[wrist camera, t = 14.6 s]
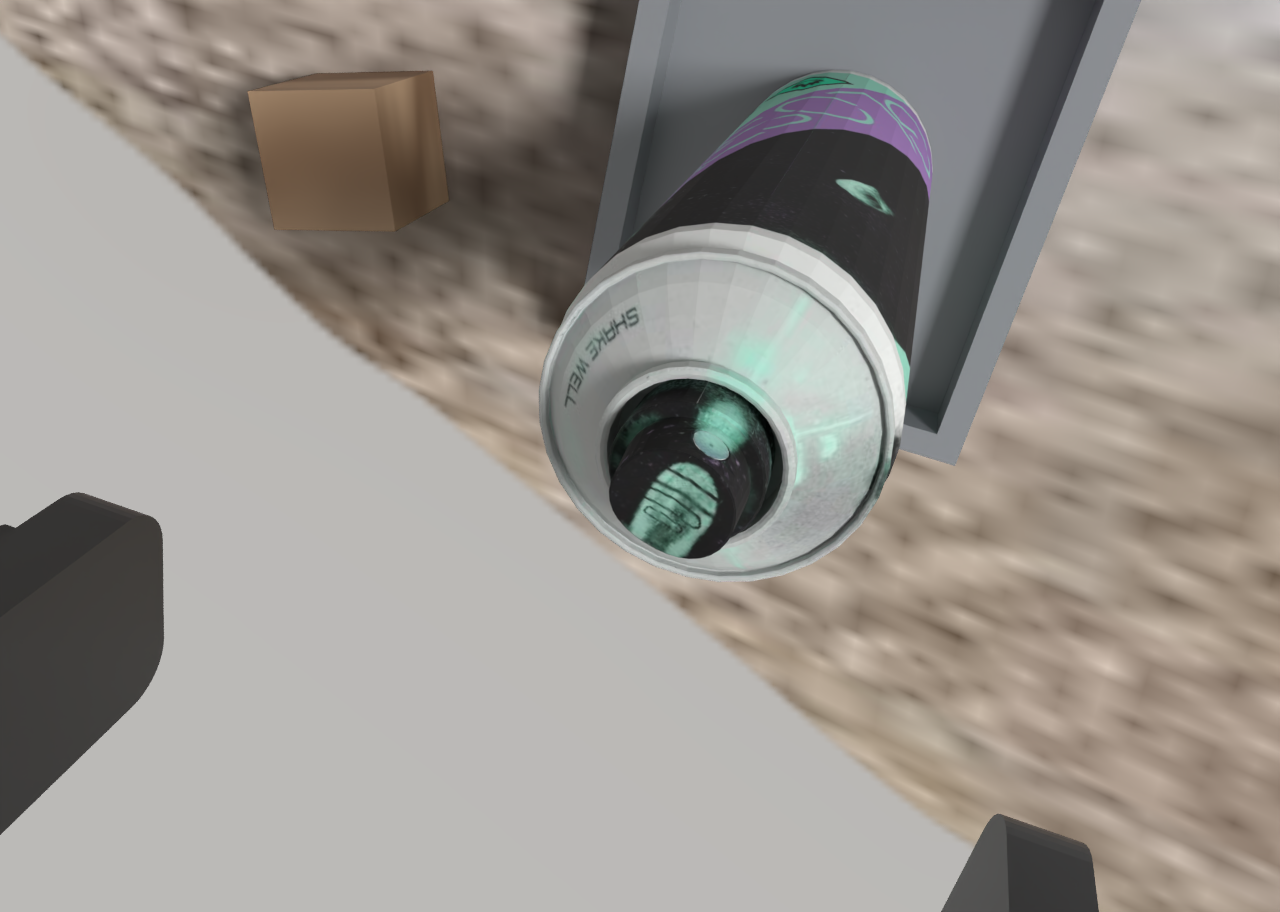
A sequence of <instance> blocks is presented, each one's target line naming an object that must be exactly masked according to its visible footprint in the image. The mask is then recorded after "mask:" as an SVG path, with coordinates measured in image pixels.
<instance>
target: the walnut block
mask: <svg viewBox="0 0 1280 912" xmlns="http://www.w3.org/2000/svg"><path fill="white" fill-rule="evenodd" d="M247 92H248V97H249V102H250V107H251V112H252V117H253V122H254V128H255V133H256V138H257V143H258V148H259V153H260V158H261V163H262V169H263V174H264V179H265V184H266V189H267V194H268V199H269V205H270V210H271V215H272V220H273V225H274V230H330V231H392V232H395V231H397V230H399V229H401V228H402V227H404V226H406V225H408V224H409V223H411V222H413V221H415V220H416V219H418V218H420V217H422V216H423V215H425V214H427V213H429V212H430V211H432V210H434V209H436V208H437V207H439V206H441V205H443V204H444V203H446V202H448V201H449V196H448V188H447V180H446V172H445V164H444V156H443V148H442V140H441V132H440V124H439V116H438V108H437V100H436V92H435V84H434V76H433V71H400V72H358V73H316V74H313V75H309V76H305V77H301V78H297V79H293V80H289V81H286V82H282V83H278V84H274V85H270V86H266V87H262V88H258V89H255V90H251V91H247Z"/></svg>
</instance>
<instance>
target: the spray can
mask: <svg viewBox="0 0 1280 912" xmlns="http://www.w3.org/2000/svg"><path fill="white" fill-rule="evenodd" d="M932 173H933V168H932V153H931V147H930V144H929V140H928V137H927V133H926V129H925V128H924V126H923V124H922V122H921V120H920V118H919V116H918V114H917V112H916V111H915V110H914V108H913V107H912V106H911V105H910V104H909V102H908V101H907V100H906V99H905V97H903V96H902V95H901V94H900V93H899V92H897V91H896V90H895V89H894V88H892V87H891V86H890V85H888V84H886V83H884V82H882V81H880V80H878V79H876V78H875V77H873V76H870V75H866V74H862V73H859V72H855V71H846V70H828V71H821V72H814V73H811V74H808V75H805V76H803V77H800V78H797V79H794V80H793V81H791V82H789V83H788V84H786V85H784V86H783V87H781V88H779V89H778V90H776V91H775V92H773V93H772V94H771V95H770V96H769V97H768V98H767V99H766V100H765V101H764V102H763V103H761V104H760V105H759V106H758V107H757V108H756V109H755V111H754V112H753V113H752V114H751V115H750V116H749V117H748V118H747V119H746V120H745V121H744V122H743V123H742V124H741V125H740V126H739V127H738V128H737V129H736V130H735V131H734V132H733V133H732V134H731V135H730V136H729V137H728V138H727V139H726V140H725V141H724V142H723V143H722V144H721V145H720V146H719V147H718V148H717V149H716V151H715V152H714V153H713V154H712V155H711V156H710V157H709V158H708V159H707V160H706V161H705V162H704V163H703V164H702V165H701V166H700V167H699V168H698V169H697V170H696V171H695V172H694V173H693V174H692V175H691V176H690V177H689V178H688V179H687V180H686V181H685V182H684V183H683V184H682V185H681V186H680V187H679V188H678V189H677V190H676V192H675V193H674V194H673V195H672V196H671V197H670V198H669V199H668V200H667V201H666V202H665V203H664V204H663V205H662V206H661V207H660V208H659V209H658V210H657V211H656V212H655V213H654V214H653V215H652V216H651V217H650V218H649V219H648V220H647V221H646V222H645V223H644V224H643V225H642V226H641V227H640V228H639V229H638V230H637V232H636V233H635V234H634V235H633V236H632V237H631V238H630V239H629V240H628V241H627V242H626V243H625V244H624V245H623V246H622V247H621V248H620V249H619V250H618V251H617V252H616V253H615V254H614V255H613V256H612V257H611V258H610V259H609V260H608V261H607V262H606V263H605V264H604V265H603V266H602V267H601V268H600V269H599V270H598V272H597V273H596V274H595V275H594V276H593V277H592V278H591V279H590V280H589V281H588V282H587V283H586V284H585V285H584V287H583V288H582V290H581V291H580V293H579V294H578V295H577V297H576V298H575V300H574V301H573V302H572V304H571V305H570V307H569V308H568V310H567V312H566V314H565V316H564V319H563V321H562V324H561V326H560V327H559V329H558V330H557V332H556V334H555V336H554V339H553V341H552V343H551V346H550V348H549V351H548V353H547V355H546V358H545V360H544V365H543V371H542V376H541V382H540V387H539V418H540V426H541V430H542V435H543V439H544V443H545V448H546V452H547V455H548V457H549V459H550V462H551V464H552V466H553V468H554V471H555V473H556V475H557V478H558V480H559V482H560V483H561V485H562V486H563V488H564V489H565V491H566V492H567V494H568V495H569V497H570V498H571V500H572V501H573V503H574V504H575V506H576V507H577V509H578V510H579V511H580V512H581V513H582V514H583V515H584V516H585V517H586V518H587V519H588V520H589V521H590V522H591V523H592V524H593V525H594V526H595V527H596V529H597V530H598V531H599V532H601V533H602V534H603V535H605V536H606V537H607V538H609V539H610V540H611V541H613V542H614V543H615V544H617V545H618V546H619V547H621V548H622V549H623V550H625V551H626V552H628V553H630V554H632V555H634V556H636V557H638V558H640V559H641V560H643V561H645V562H647V563H649V564H651V565H653V566H655V567H658V568H661V569H664V570H667V571H670V572H673V573H676V574H679V575H682V576H685V577H691V578H697V579H704V580H710V581H717V582H736V581H755V580H760V579H765V578H771V577H776V576H781V575H784V574H787V573H789V572H792V571H794V570H797V569H799V568H802V567H805V566H807V565H810V564H812V563H814V562H815V561H817V560H818V559H820V558H822V557H823V556H825V555H826V554H828V553H829V552H831V551H832V550H834V549H836V548H837V547H839V546H840V545H841V544H842V543H843V542H844V541H845V540H846V539H847V538H848V537H849V536H850V535H851V534H852V533H853V532H854V531H855V530H856V529H857V528H858V527H859V526H860V525H861V524H862V523H863V521H864V519H865V518H866V516H867V515H868V513H869V512H870V510H871V509H872V507H873V506H874V504H875V503H876V501H877V500H878V498H879V496H880V493H881V490H882V488H883V485H884V482H885V481H886V479H887V478H888V476H889V474H890V471H891V469H892V466H893V463H894V461H895V458H896V455H897V453H898V450H899V447H900V444H901V437H902V429H903V422H904V415H905V407H906V398H907V390H908V381H909V373H910V364H911V355H912V347H913V338H914V329H915V321H916V312H917V303H918V295H919V286H920V277H921V269H922V260H923V251H924V243H925V234H926V225H927V217H928V208H929V199H930V191H931V182H932Z"/></svg>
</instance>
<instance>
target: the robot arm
mask: <svg viewBox="0 0 1280 912" xmlns="http://www.w3.org/2000/svg"><path fill="white" fill-rule="evenodd" d="M163 642H164V615H163V539H162V532H161V528H160V525H159V523H158V522H157V521H156V520H155V519H154V518H153V517H151V516H148V515H145V514H142V513H139V512H137V511H134V510H131V509H128V508H125V507H122V506H119V505H116V504H113V503H111V502H107V501H105V500H102V499H99V498H96V497H93V496H90V495H87V494H85V493H79V492H78V493H71V494H69V495H66V496H64V497H62V498H60V499H59V500H57V501H56V502H54V503H53V504H51V505H50V506H48V507H47V508H45V509H44V510H42V511H41V512H39V513H38V514H36V515H35V516H33V517H31V518H30V519H28V520H27V521H25V522H24V523H22V524H21V525H19V526H18V527H16V528H14V527H11V526H8V525H1V526H0V835H1V834H2V833H3V832H4V831H5V830H6V829H7V828H8V827H9V826H10V825H11V824H12V823H13V822H14V821H15V820H16V819H17V818H18V817H19V816H20V815H21V814H22V813H23V812H24V811H25V810H26V809H27V808H28V807H29V806H30V805H31V804H32V803H33V802H35V801H36V800H37V799H38V798H39V797H40V796H41V795H42V794H43V793H44V792H45V791H46V790H47V789H48V788H49V787H50V786H51V785H52V784H53V783H54V782H55V781H56V780H57V779H58V778H59V777H60V776H61V775H62V774H63V773H64V772H65V771H66V770H67V769H69V768H70V766H72V765H73V764H74V763H75V762H76V761H77V760H78V759H79V758H80V757H81V756H82V755H83V754H84V753H85V752H86V751H87V750H88V749H89V748H90V747H91V746H92V745H93V744H94V743H95V742H96V741H97V740H98V739H99V738H100V737H102V736H103V734H104V733H106V732H107V731H108V730H109V729H110V728H111V727H112V726H113V725H114V724H115V723H116V722H117V721H118V720H119V719H120V718H121V717H122V716H123V715H124V714H125V713H126V712H127V711H128V710H129V709H130V708H131V707H132V706H133V705H134V704H135V703H136V702H137V701H138V700H139V699H140V697H141V696H142V695H143V693H144V692H145V690H146V689H147V687H148V686H149V684H150V682H151V680H152V678H153V676H154V674H155V672H156V670H157V667H158V665H159V662H160V658H161V655H162V650H163ZM941 912H1099V910H1098V902H1097V894H1096V885H1095V877H1094V869H1093V862H1092V856H1091V853H1090V850H1089V848H1088V847H1087V845H1085V844H1084V843H1082V842H1079V841H1076V840H1073V839H1071V838H1068V837H1065V836H1062V835H1059V834H1056V833H1053V832H1050V831H1047V830H1045V829H1042V828H1039V827H1036V826H1033V825H1030V824H1027V823H1024V822H1022V821H1019V820H1016V819H1013V818H1010V817H1007V816H1004V815H1001V814H996V815H994V816H993V817H992V818H991V819H990V821H989V822H988V823H987V825H986V827H985V828H984V830H983V832H982V834H981V836H980V838H979V840H978V842H977V844H976V846H975V848H974V849H973V851H972V853H971V855H970V857H969V859H968V861H967V863H966V865H965V867H964V869H963V871H962V873H961V875H960V877H959V878H958V881H957V882H956V884H955V886H954V888H953V890H952V892H951V894H950V896H949V898H948V900H947V902H946V904H945V905H944V908H943V910H942V911H941Z"/></svg>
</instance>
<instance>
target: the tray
mask: <svg viewBox="0 0 1280 912" xmlns="http://www.w3.org/2000/svg"><path fill="white" fill-rule="evenodd" d="M1140 2H1141V0H639V4H638V9H637V15H636V20H635V25H634V30H633V35H632V41H631V46H630V51H629V56H628V61H627V67H626V72H625V77H624V82H623V87H622V93H621V98H620V103H619V108H618V113H617V119H616V124H615V129H614V134H613V139H612V144H611V150H610V155H609V160H608V165H607V170H606V176H605V181H604V186H603V191H602V196H601V202H600V207H599V212H598V217H597V222H596V228H595V233H594V238H593V243H592V248H591V254H590V259H589V264H588V269H587V274H586V280H585V284H586V283H587V282H588V281H589V280H590V279H591V278H592V277H593V276H594V275H595V274H596V273H597V272H598V270H599V269H600V268H601V267H602V266H603V265H604V264H605V263H606V262H607V261H608V260H609V259H610V258H611V257H612V256H613V255H614V254H615V253H616V252H617V251H618V250H619V249H620V248H621V247H622V246H623V245H624V244H625V243H626V242H627V241H628V240H629V239H630V238H631V237H632V236H633V235H634V234H635V233H636V232H637V230H638V229H639V228H640V227H641V226H642V225H643V224H644V223H645V222H646V221H647V220H648V219H649V218H650V217H651V216H652V215H653V214H654V213H655V212H656V211H657V210H658V209H659V208H660V207H661V206H662V205H663V204H664V203H665V202H666V201H667V200H668V199H669V198H670V197H671V196H672V195H673V194H674V193H675V192H676V190H677V189H678V188H679V187H680V186H681V185H682V184H683V183H684V182H685V181H686V180H687V179H688V178H689V177H690V176H691V175H692V174H693V173H694V172H695V171H696V170H697V169H698V168H699V167H700V166H701V165H702V164H703V163H704V162H705V161H706V160H707V159H708V158H709V157H710V156H711V155H712V154H713V153H714V152H715V151H716V149H717V148H718V147H719V146H720V145H721V144H722V143H723V142H724V141H725V140H726V139H727V138H728V137H729V136H730V135H731V134H732V133H733V132H734V131H735V130H736V129H737V128H738V127H739V126H740V125H741V124H742V123H743V122H744V121H745V120H746V119H747V118H748V117H749V116H750V115H751V114H752V113H753V112H754V111H755V109H756V108H757V107H758V106H759V105H760V104H761V103H763V102H764V101H765V100H766V99H767V98H768V97H769V96H770V95H771V94H772V93H773V92H775V91H776V90H778V89H779V88H781V87H783V86H784V85H786V84H788V83H789V82H791V81H793V80H794V79H797V78H800V77H803V76H805V75H808V74H811V73H814V72H821V71H828V70H846V71H855V72H859V73H862V74H866V75H870V76H873V77H875V78H876V79H878V80H880V81H882V82H884V83H886V84H888V85H890V86H891V87H892V88H894V89H895V90H896V91H897V92H899V93H900V94H901V95H902V96H903V97H905V99H906V100H907V101H908V102H909V104H910V105H911V106H912V107H913V108H914V110H915V111H916V112H917V114H918V116H919V118H920V120H921V122H922V124H923V126H924V128H925V129H926V133H927V137H928V140H929V144H930V147H931V153H932V168H933V173H932V182H931V191H930V199H929V208H928V217H927V225H926V234H925V243H924V251H923V260H922V269H921V277H920V286H919V295H918V303H917V312H916V321H915V329H914V338H913V347H912V355H911V364H910V373H909V381H908V390H907V398H906V407H905V415H904V422H903V429H902V437H901V444H900V447H899V449H901V450H905V451H908V452H911V453H914V454H918V455H921V456H924V457H928V458H931V459H934V460H937V461H941V462H944V463H947V464H951V465H954V466H955V464H956V462H957V459H958V457H959V454H960V452H961V449H962V447H963V444H964V442H965V439H966V437H967V434H968V432H969V429H970V427H971V424H972V422H973V419H974V417H975V414H976V412H977V409H978V407H979V404H980V402H981V399H982V397H983V394H984V392H985V389H986V387H987V384H988V382H989V379H990V377H991V374H992V372H993V369H994V367H995V364H996V362H997V359H998V357H999V354H1000V352H1001V349H1002V347H1003V344H1004V342H1005V339H1006V337H1007V334H1008V332H1009V329H1010V327H1011V324H1012V322H1013V319H1014V317H1015V314H1016V312H1017V309H1018V307H1019V304H1020V302H1021V299H1022V297H1023V294H1024V292H1025V289H1026V287H1027V284H1028V282H1029V279H1030V277H1031V274H1032V272H1033V269H1034V267H1035V264H1036V262H1037V259H1038V257H1039V254H1040V252H1041V249H1042V247H1043V244H1044V242H1045V239H1046V237H1047V234H1048V232H1049V229H1050V227H1051V224H1052V222H1053V219H1054V217H1055V214H1056V212H1057V209H1058V207H1059V204H1060V202H1061V199H1062V197H1063V194H1064V192H1065V189H1066V187H1067V184H1068V182H1069V179H1070V177H1071V174H1072V172H1073V169H1074V167H1075V164H1076V162H1077V159H1078V157H1079V154H1080V152H1081V149H1082V147H1083V144H1084V142H1085V139H1086V137H1087V134H1088V132H1089V129H1090V127H1091V124H1092V122H1093V119H1094V117H1095V114H1096V112H1097V109H1098V107H1099V104H1100V102H1101V99H1102V97H1103V94H1104V92H1105V89H1106V87H1107V84H1108V82H1109V79H1110V77H1111V74H1112V72H1113V69H1114V67H1115V64H1116V62H1117V59H1118V57H1119V54H1120V52H1121V49H1122V47H1123V44H1124V42H1125V39H1126V37H1127V34H1128V32H1129V29H1130V27H1131V24H1132V22H1133V19H1134V17H1135V14H1136V12H1137V9H1138V7H1139V4H1140Z"/></svg>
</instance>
